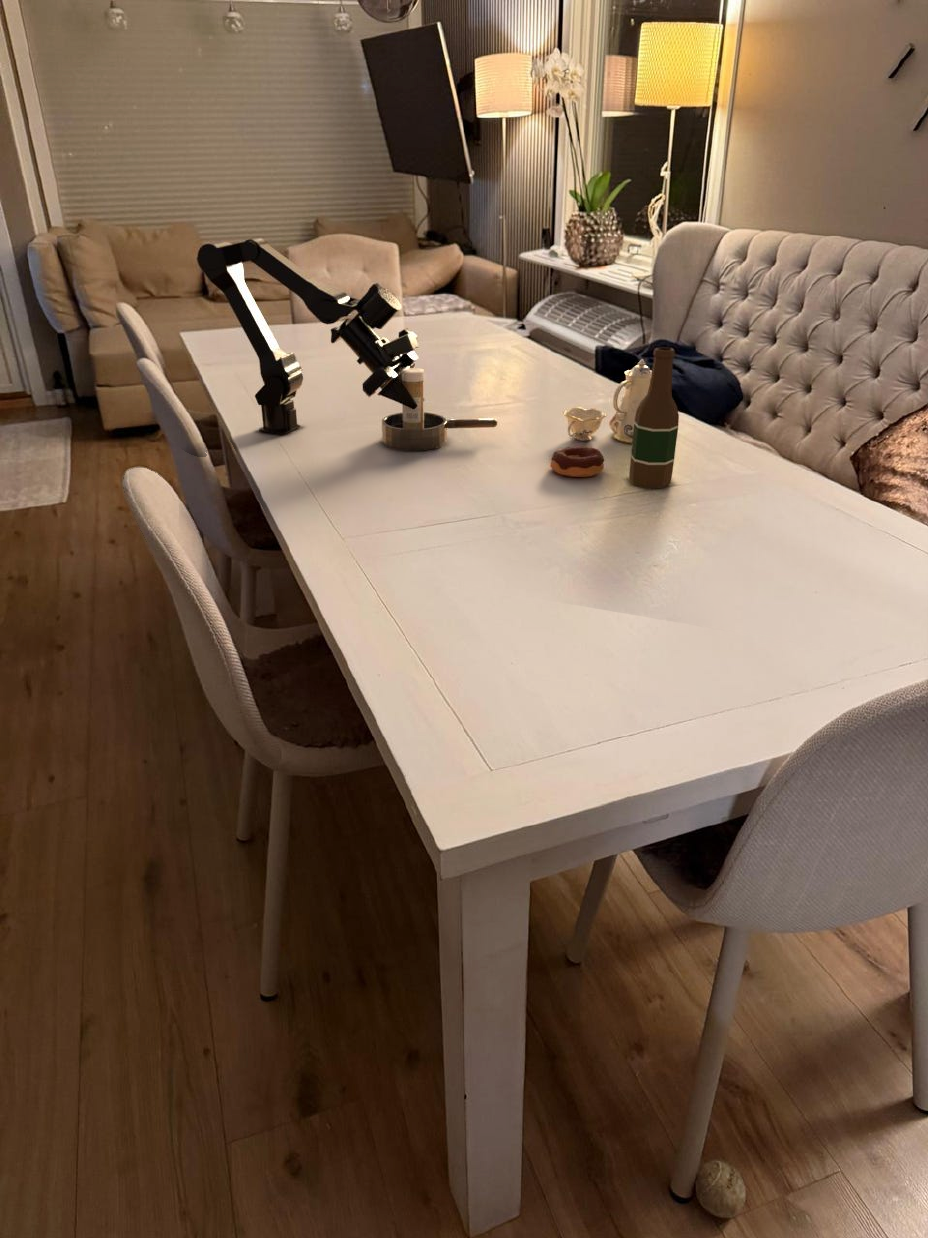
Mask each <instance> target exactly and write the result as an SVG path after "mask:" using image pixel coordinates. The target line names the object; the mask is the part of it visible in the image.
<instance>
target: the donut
mask: <svg viewBox="0 0 928 1238" xmlns="http://www.w3.org/2000/svg"><path fill="white" fill-rule="evenodd" d="M550 461H551V462H550V464H549V465H550V468H551V469H552V470H553V471H554V472H555V473H556V474H558V475H561V476H566V477H571V478H587V477H588V478H589V477H594V476H595V475H598V474H599V473H601V472H602V471H603V470H604V469H605V464H604V463H605V458H604V455H603V453H602V452H601V451H600V450H599V449H598V448H595V447H589V446H568V447H564V448H560V449H557V450H556V451H554V452H553V454H552V456H551V459H550Z"/></svg>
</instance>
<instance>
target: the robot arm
mask: <svg viewBox="0 0 928 1238" xmlns="http://www.w3.org/2000/svg"><path fill="white" fill-rule="evenodd" d="M196 262H197V264H198V267H199V269H200V270H201V271H202V272H203V274H204V275H205V276H206V278H207V280H209V282H210V283H211V284H212V285H214V286H215V287H216V288H217V289H218V290H219V291H221V292H222V293H223V295H224V297H225V298H226V301H227V302H228V305H229V306H230V308H231V310H232V312H233V314H234V315H235V317H236V319H237V321H238V323H239V324H240V326H241V328H242V330H243V331H244V334H245V336H246V337H247V339H248V341H249V343H250V344H251V347H252V348H253V350H254V352H255V354H256V356H257V358H258V363H259V372H260V377H261V379H262V382H263V385H262V386H261V388H259V389H258V391H257V392H256V393H255V394H254V398H255V400H256V403H257V405H258V406H260V408H261V419H262V427H259V428H258V431H259V432H261V433H262V432H263V433H270V434H276V435H283V436H284V435H287V434H289V433H291V432H293V431H295V430H297V429H299V428H301V425H300V424H298V417H297V408H296V407H295V401H294V400H293V398H295V397H296V395H297V391H298V390H299V389H300V388H301V387H302V385H303V380H304V375H303V372H302V371H303V370H304V368H303V367H302V366H301V365H300V363H299V362H298V360H297V356H296V355H295V353H294V352H293V351H292V352H289V353H286V352H285V351H284V350H282V348H280V346H279V344H278V342H277V340H276V338H275V337H274V335H273V332H272V331H271V330H270V327H269V325H268V324H267V322H266V320H265V318H264V316H263V314H262V313H261V310H260V309H259V307H258V305H257V303H256V301H255V299H254V297H253V295H252V293H251V291H250V289H249V288H248V286H247V284H246V282H245V273H244V266H243V263H247V262H251V263H253V264H254V265H256V266H257V267H258V268H260V269H261V270H263V271H264V272H265V273H267V274H268V275H269V276H270V277H272V278H273V279H274V280H276V281H277V282H279V283H280V284H281V285H283V286H284V287H285V288H287V289H288V290H290V292H292V293H294V294H295V295H297V296H298V297H299V298H300V300H302V302H303V304H304V305H305V307H306V308H307V310H308V311H309V312H310V313H311V314H312V315H313V316H314V317H315V319H317V320H318V321H319V322H320V323H322V324H324V325H332V324H336V323H338V322H340V321H342V320H344V319H345V320H344V321H342V323H341V324H340V325H339V326H337V327H336V326H334V327H332V328H331V329H330V334H331V335H330V343H331V344H335V343H337V342H339V341H341V340H342V341H343V342H344V343H345V344H346V346H348V348H349V349H350V350H351V351H352V352H353V353H354V354H355V355H356V357H357V358H358V359H356V362H357V364H358V365H362V364H364V366H365V367H366V368H367V369H368V370H369V371H370V372H371V374H370V375H369V376H368V378H366V379H365V381H363V382H362V391H363V392H364V393H365V394H366V396H367V397H368V398H371V397H372V396H374V395H375V393H377V392H376V391H377V390H379V389H380V391H379V392H378V393H377V396H378V397H380V396H381V397H384V398H386V399H388V400H391V401H394V402H396V403H398V404H400V405H402V406H403V405H405V406H407V407H409V408H412V409H415V408H416V407H417V404H416V402H415V400H414V399H413V397H412V396H411V395H410V393H409V392H408V390H407V389H406V388H405V386H404V385H403V383H402V370H403V369H407V368H415V366H416V363H415V362H416V361H417V360H418V359H419V356H418V355H417V354H416V352H415V349H417V348H419V343H418V341H417V340H418V335H417V334H416V333H414V331H413V330H412V331H411V330H410V329H409V328H408V327H406V328H404V329H402V330H399V332H398V337H396V338H394V339H392V340H390V341H389V339H388V338H387V337H385V336H383V337H379V336H378V334H377V333H376V332H375V331H374V330H376V329H377V330H382V329H383V328H384V327H385V326H387V324H388V323H389V322H390V321H391V320H392V319H393V318H394V317H395V316H396V315H397V314H398V313H399V311H401V309H402V304H401V303H400V301H399V299H398V298H397V296H395V294H394V292H391V291H389V290H388V289H386V288H385V287H383V286H381V285H380V284H379V282H374V283H373V284H371V286H370V287H369V288H368V290H367V292H366V293H365V294H364V295H363V296H362V297H361V298H356V297H352V296H349V295H348V294H347V292H345V291H343V290H341V289H339V288H338V287H336V286H334V285H331V284H330V283H327V282H324V281H321V280H318V279H316V278H314V277H313V276H311V275H310V274H309V273H308V272H306V271H305V270H303V269H302V268H301V267H299V266H298V265H297V264H296V263H294V262H292V261H291V260H290V259H288V258H287V257H286V256H284V255H283V254H281V253H280V252H279V251H278V250H277V249H275V248H274V247H272V246H271V245H269V244H268V242H267V241H266V240H265V239H264V238H261V237H254V238H248V239H245V241H242V242H237V243H232V242H229V241H227V240H218V241H214V242H210V243H205V244H203V245H201V247H200V248H199V249H198V251H197V257H196ZM355 313H357V314H356V315H355V316H354V317H353V318H347V317H349V316H351V315H353V314H355Z"/></svg>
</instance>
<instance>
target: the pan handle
mask: <svg viewBox="0 0 928 1238" xmlns="http://www.w3.org/2000/svg"><path fill="white" fill-rule="evenodd" d="M446 421H447V429H481V428H482V429H483V428H484V429H485V428H486V429H487V428H489V429H490V428H496V427H497V426H498V420H497V419H496V418H460V419H459V418H457V419H455V418H453V419H452V418H451V419H446Z"/></svg>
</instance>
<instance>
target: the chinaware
mask: <svg viewBox="0 0 928 1238" xmlns="http://www.w3.org/2000/svg"><path fill="white" fill-rule="evenodd" d="M624 374H625V380H624V381H621V382H620V383H619V384H618V385H617V387H616V389H615V391H614V394H613V399H612V406H613V409H614V410H615V413H614V415H613V416H612V417H611V419H610V420H609V424H608V426H609V428H610V430H611V431H612V432H613V433H614V435H613V438H614V439H615V440H616V441H619V442H621V443H626V444H632V441H633V431H634V421H635V415H636V411H637V409H638V406H639V404H640V402H641V401H642V400H643V399H644V398H645V396H646V395H647V393H648V389H649V386H650V380H651V374H652V370H650V367H649V366H647V365H646V362H645V360H644V359H643V358H641V359H640V360H639V362H637V365H635V366H633V367H632V368H631V369H630V370H629V369H628V370H626V371H624ZM623 387H624V388H625V390H624V395H623V396H622V397H621V400H620V406H618V401H619V399H618V398H619V394H620V393H621V391H622V389H623ZM562 414H563V415H564V416H565V417H566V422H567V425H568V427H567V435H568V436H569V437H570V438H571V437H573V438H574V440H577V441H578V440H579V441H582V442H584V441H591V440H592V435H594V434H595V433H596V432H597V431H598V430H599V429H600V428H601V424H602V421H603V420H604V418H606V417H607V413H606V412H602V411H601V410H600V409H598V408H589V409H584V408H583V407H577V406H576V407H574V408H571V409H570V410H569V411H567V410H564V411H563V412H562ZM571 432H572V433H571Z"/></svg>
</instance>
